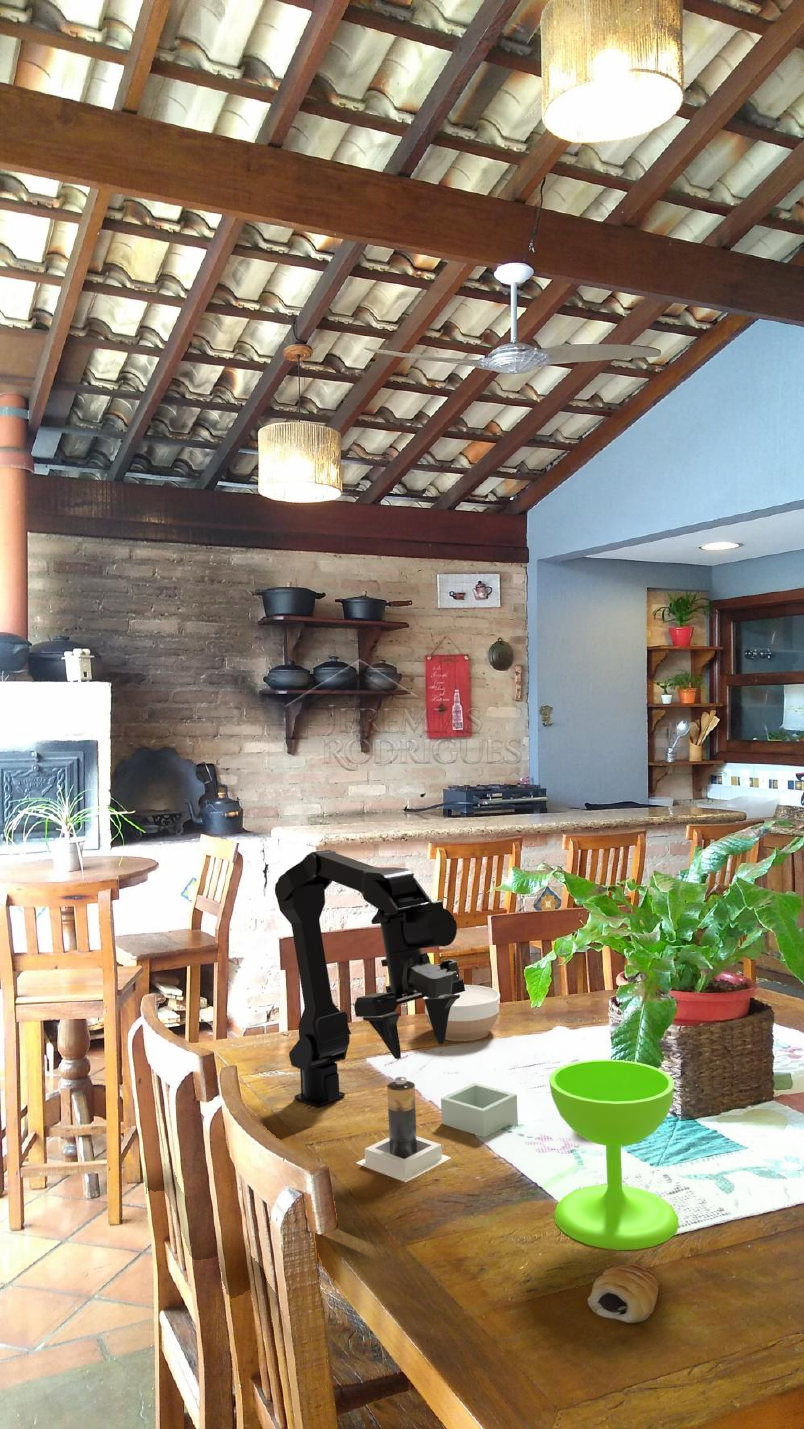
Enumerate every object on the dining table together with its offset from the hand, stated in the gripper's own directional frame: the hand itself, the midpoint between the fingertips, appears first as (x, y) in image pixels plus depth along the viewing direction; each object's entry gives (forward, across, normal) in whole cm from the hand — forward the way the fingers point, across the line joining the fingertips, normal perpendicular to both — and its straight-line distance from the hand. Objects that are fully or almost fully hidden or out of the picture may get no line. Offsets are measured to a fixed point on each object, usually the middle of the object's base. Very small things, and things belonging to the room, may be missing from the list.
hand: (420, 1051), depth 161 cm
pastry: (+24, -14, -44) cm, 52 cm away
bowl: (+7, +42, +36) cm, 56 cm away
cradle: (+15, -8, -2) cm, 17 cm away
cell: (+14, -8, -2) cm, 16 cm away
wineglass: (+21, +1, -32) cm, 38 cm away
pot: (+14, +10, 0) cm, 17 cm away
